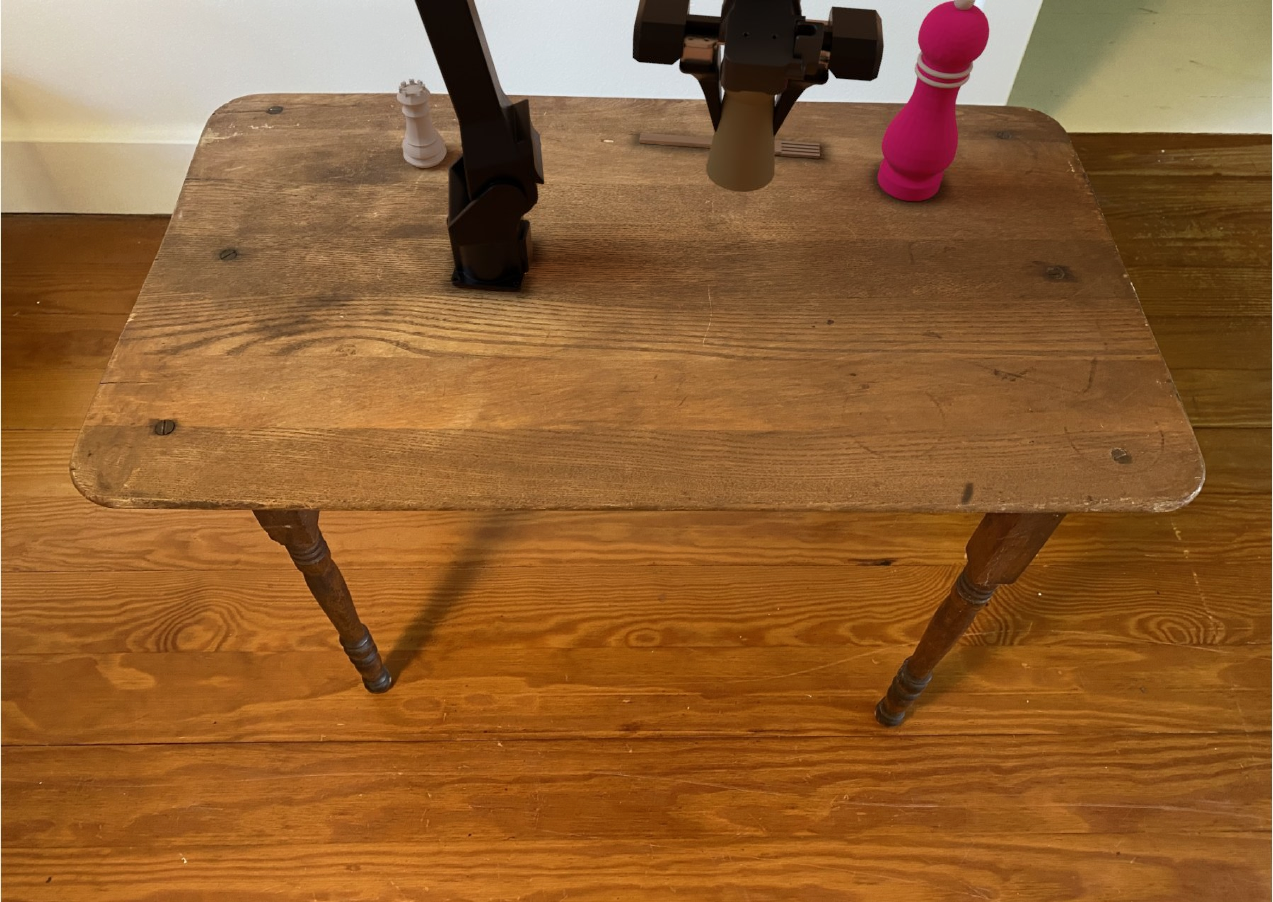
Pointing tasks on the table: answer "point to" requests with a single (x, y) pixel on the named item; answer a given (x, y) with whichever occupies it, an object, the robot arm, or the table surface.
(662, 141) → the fork
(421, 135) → the rook chess piece
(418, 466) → the table surface
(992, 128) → the table surface
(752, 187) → the tan cone-shaped piece
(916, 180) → the pepper mill
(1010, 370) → the table surface
